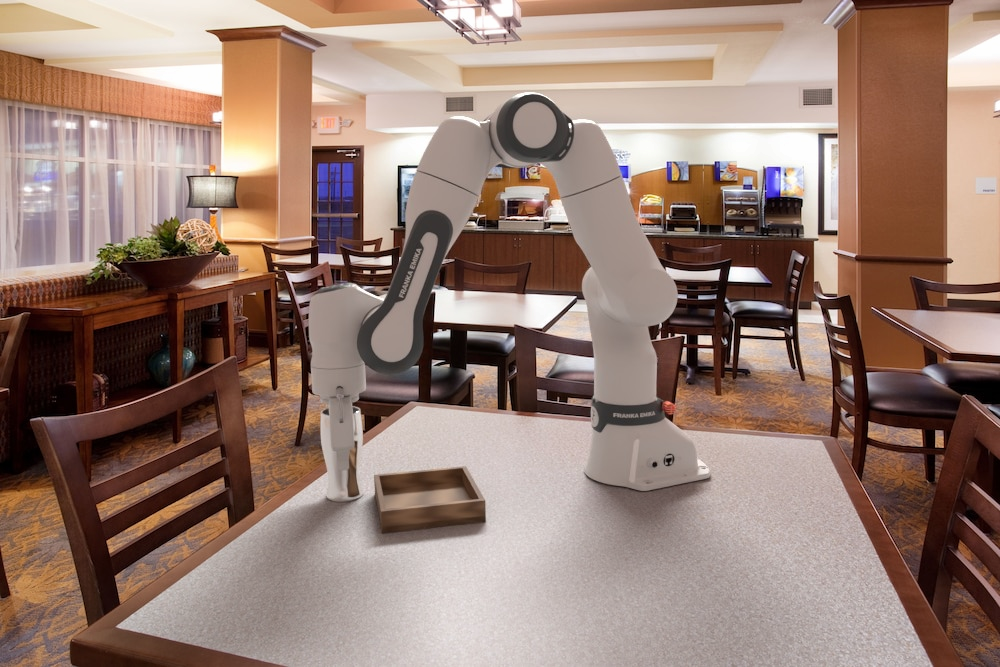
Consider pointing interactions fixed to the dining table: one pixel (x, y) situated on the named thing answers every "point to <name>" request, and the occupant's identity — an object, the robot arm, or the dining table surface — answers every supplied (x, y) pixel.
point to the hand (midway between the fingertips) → (342, 460)
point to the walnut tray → (428, 499)
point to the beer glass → (339, 482)
